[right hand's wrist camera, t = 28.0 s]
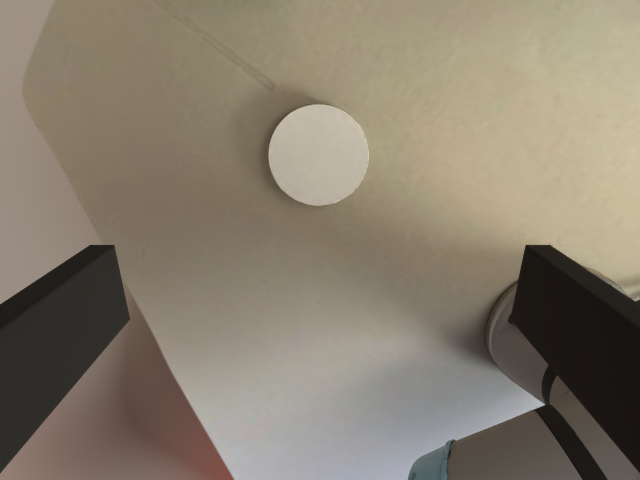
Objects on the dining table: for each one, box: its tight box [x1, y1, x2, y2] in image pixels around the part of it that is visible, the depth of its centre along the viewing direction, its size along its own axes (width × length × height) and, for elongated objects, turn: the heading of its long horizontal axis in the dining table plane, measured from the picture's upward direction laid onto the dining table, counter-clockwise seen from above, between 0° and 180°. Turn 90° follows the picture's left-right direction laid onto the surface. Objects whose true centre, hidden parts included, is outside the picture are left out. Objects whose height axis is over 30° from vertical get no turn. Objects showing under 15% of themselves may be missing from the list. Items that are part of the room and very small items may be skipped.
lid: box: [268, 104, 369, 206], centre depth 36 cm, size 9×9×2 cm
